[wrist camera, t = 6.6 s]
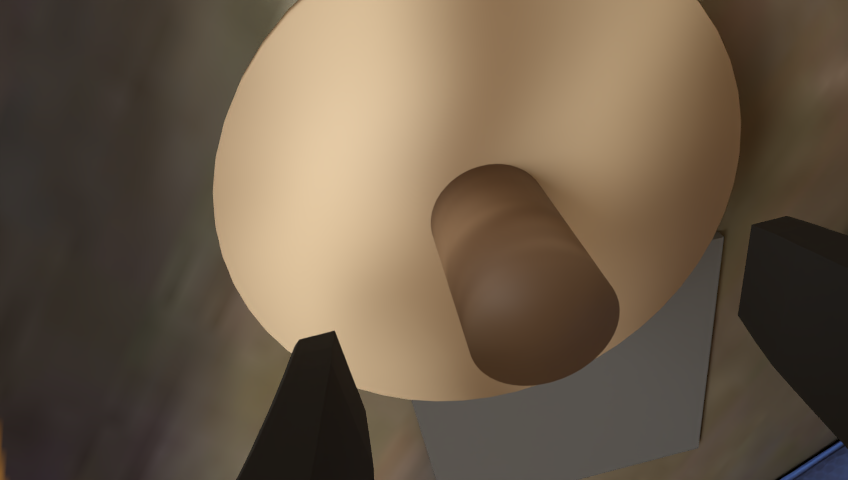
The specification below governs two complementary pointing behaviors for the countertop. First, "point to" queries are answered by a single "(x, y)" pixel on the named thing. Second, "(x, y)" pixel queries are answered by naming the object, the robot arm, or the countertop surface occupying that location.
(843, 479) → the lunch bag
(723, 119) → the lid
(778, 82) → the countertop surface
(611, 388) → the mat
